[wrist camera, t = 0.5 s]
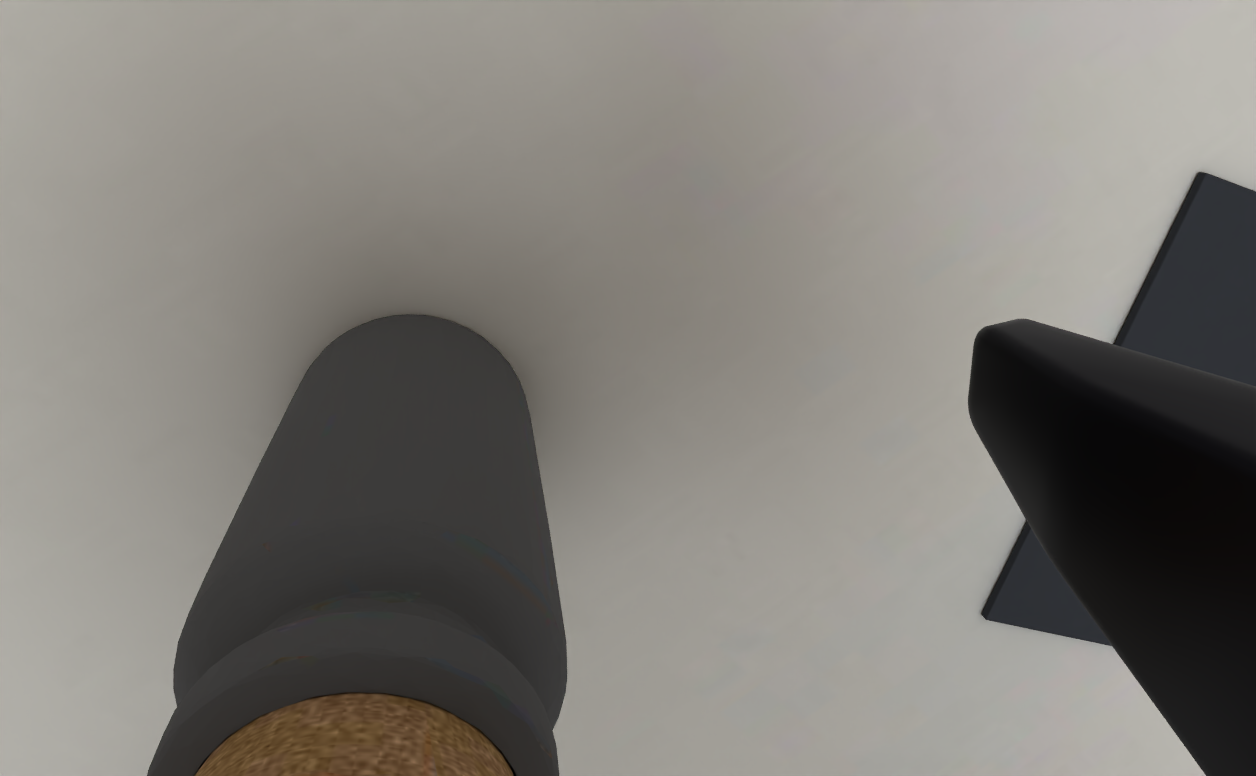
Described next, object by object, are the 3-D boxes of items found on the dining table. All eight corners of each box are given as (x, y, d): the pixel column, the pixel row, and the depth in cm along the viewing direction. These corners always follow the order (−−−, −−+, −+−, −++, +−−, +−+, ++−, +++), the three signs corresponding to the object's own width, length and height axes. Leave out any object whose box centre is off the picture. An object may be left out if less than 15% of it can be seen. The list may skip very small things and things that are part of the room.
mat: (1279, 677, 32) (1286, 682, 32) (980, 614, 29) (985, 620, 29) (1516, 291, 28) (1527, 293, 28) (1198, 171, 25) (1206, 173, 25)
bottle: (242, 416, 23) (-99, 986, 9) (419, 262, 22) (339, 626, 9) (410, 565, 25) (338, 1210, 11) (576, 428, 25) (714, 934, 11)
